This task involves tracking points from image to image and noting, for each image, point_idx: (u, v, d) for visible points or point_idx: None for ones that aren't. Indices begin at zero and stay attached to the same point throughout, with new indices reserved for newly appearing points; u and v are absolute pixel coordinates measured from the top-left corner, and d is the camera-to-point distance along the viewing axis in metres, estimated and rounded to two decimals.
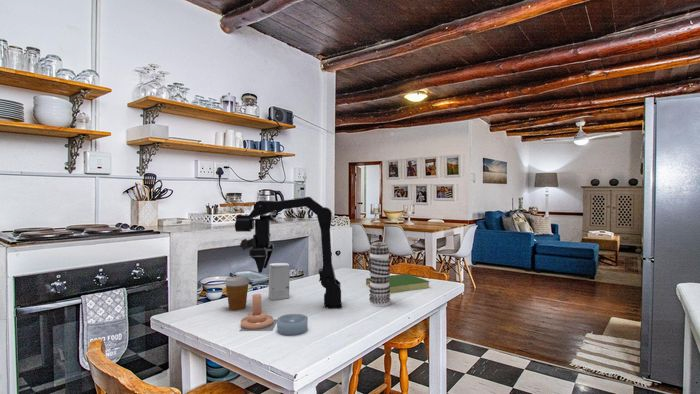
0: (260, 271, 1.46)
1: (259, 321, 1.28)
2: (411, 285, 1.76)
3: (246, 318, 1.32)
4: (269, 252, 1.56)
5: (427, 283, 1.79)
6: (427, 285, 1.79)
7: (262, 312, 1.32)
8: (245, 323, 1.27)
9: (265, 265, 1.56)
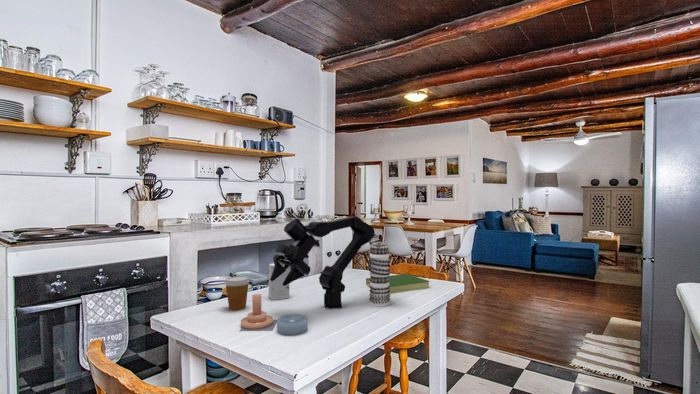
0: (285, 284, 1.32)
1: (259, 321, 1.28)
2: (411, 285, 1.76)
3: (246, 318, 1.32)
4: (283, 269, 1.43)
5: (427, 283, 1.79)
6: (427, 285, 1.79)
7: (262, 312, 1.32)
8: (245, 323, 1.27)
9: (273, 278, 1.40)
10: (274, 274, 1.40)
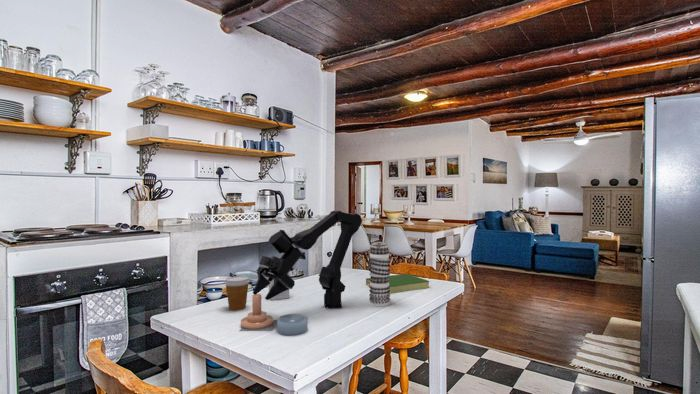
0: (268, 298, 1.28)
1: (259, 321, 1.28)
2: (411, 285, 1.76)
3: (246, 318, 1.32)
4: (267, 282, 1.39)
5: (427, 283, 1.79)
6: (427, 285, 1.79)
7: (262, 312, 1.32)
8: (245, 323, 1.27)
9: (256, 291, 1.35)
10: (257, 287, 1.36)
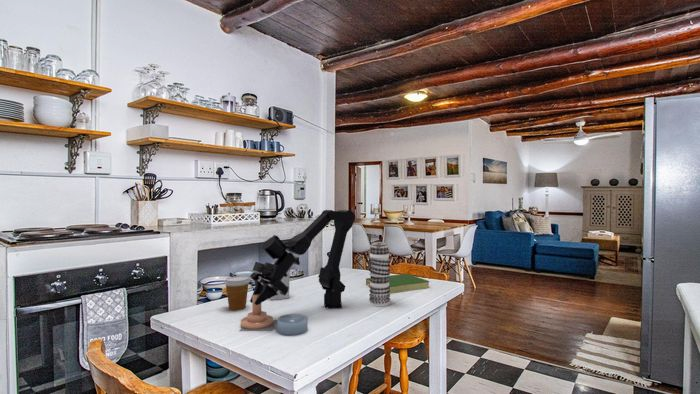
0: (257, 303, 1.28)
1: (259, 321, 1.28)
2: (411, 285, 1.76)
3: (246, 318, 1.32)
4: None
5: (427, 283, 1.80)
6: (427, 285, 1.80)
7: (262, 312, 1.32)
8: (245, 323, 1.27)
9: None
10: None
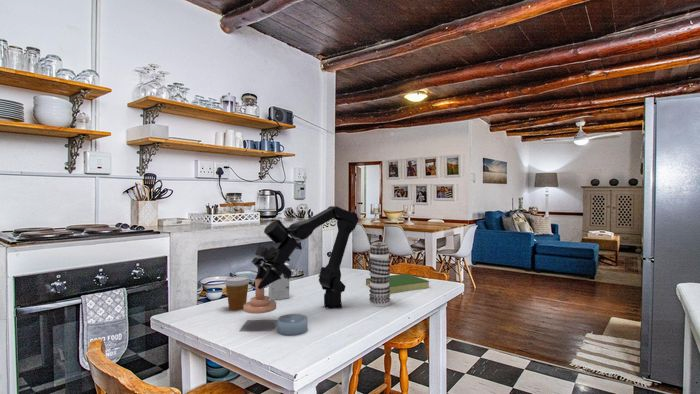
0: (260, 287, 1.28)
1: (262, 305, 1.27)
2: (411, 285, 1.76)
3: (249, 303, 1.31)
4: None
5: (427, 283, 1.80)
6: (427, 285, 1.80)
7: (265, 296, 1.31)
8: (249, 307, 1.26)
9: None
10: None
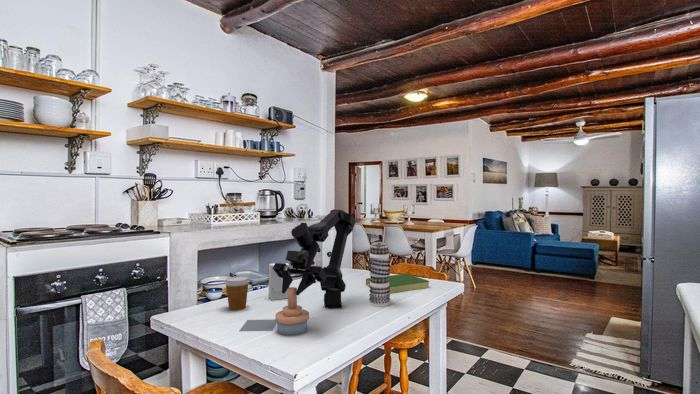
0: (298, 293, 1.23)
1: (299, 314, 1.23)
2: (411, 285, 1.76)
3: (279, 314, 1.24)
4: (291, 279, 1.30)
5: (427, 283, 1.80)
6: (427, 285, 1.80)
7: None
8: (286, 318, 1.20)
9: (284, 290, 1.25)
10: (285, 285, 1.26)
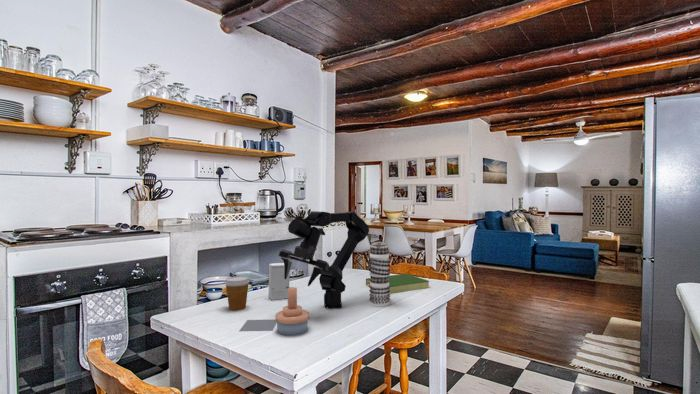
0: (309, 285, 1.37)
1: (299, 314, 1.23)
2: (411, 285, 1.76)
3: (279, 314, 1.24)
4: (291, 263, 1.43)
5: (427, 283, 1.80)
6: (427, 285, 1.80)
7: None
8: (286, 318, 1.20)
9: (286, 276, 1.40)
10: (287, 272, 1.39)
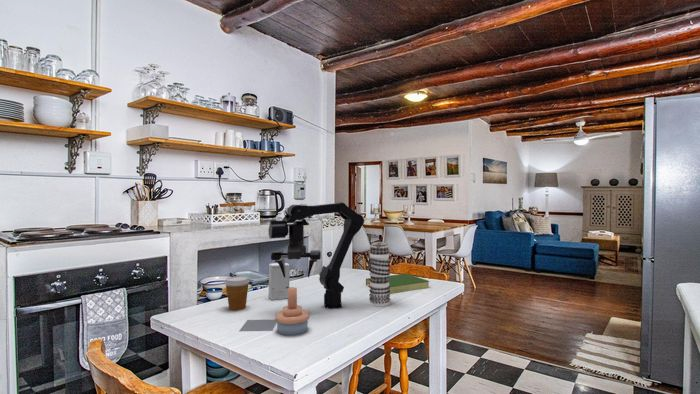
0: (309, 275, 1.46)
1: (299, 314, 1.23)
2: (411, 285, 1.76)
3: (279, 314, 1.24)
4: (284, 260, 1.47)
5: (427, 283, 1.80)
6: (427, 285, 1.80)
7: None
8: (286, 318, 1.20)
9: (285, 274, 1.46)
10: (284, 271, 1.45)
